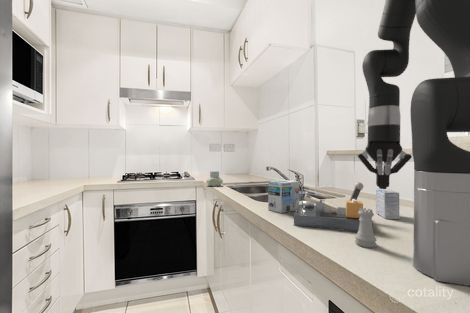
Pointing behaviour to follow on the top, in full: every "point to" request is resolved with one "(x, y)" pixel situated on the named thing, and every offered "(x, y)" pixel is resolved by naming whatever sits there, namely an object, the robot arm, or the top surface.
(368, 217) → the rook chess piece
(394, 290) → the top surface
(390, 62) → the robot arm
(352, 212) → the slider knob
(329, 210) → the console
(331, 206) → the rocker paddle
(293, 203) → the light bulb box
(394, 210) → the medicine box
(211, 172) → the air freshener
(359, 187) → the lever
